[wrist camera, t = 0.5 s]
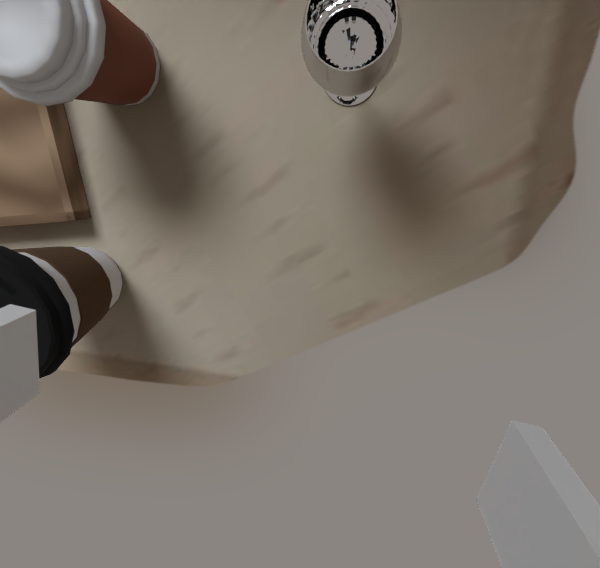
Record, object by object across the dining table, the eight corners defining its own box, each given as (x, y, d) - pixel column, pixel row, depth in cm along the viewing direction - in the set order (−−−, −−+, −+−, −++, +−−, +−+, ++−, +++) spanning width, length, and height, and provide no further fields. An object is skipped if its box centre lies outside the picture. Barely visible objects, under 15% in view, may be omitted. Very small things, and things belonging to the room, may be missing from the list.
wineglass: (402, 71, 30) (435, 12, 18) (350, 130, 31) (350, 108, 20) (349, 16, 29) (350, -81, 18) (300, 79, 31) (271, 27, 19)
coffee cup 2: (66, 202, 37) (-61, 217, 25) (163, 264, 37) (81, 307, 26) (31, 289, 40) (-96, 338, 29) (119, 345, 41) (30, 414, 29)
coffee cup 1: (192, 98, 32) (107, 61, 21) (105, 138, 34) (-17, 123, 23) (146, -19, 30) (23, -132, 19) (55, 30, 32) (-106, -45, 21)
